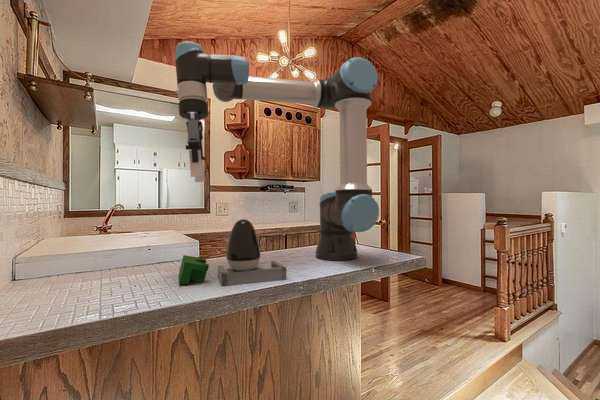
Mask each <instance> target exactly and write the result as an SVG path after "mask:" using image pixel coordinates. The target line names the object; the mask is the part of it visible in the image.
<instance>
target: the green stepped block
mask: <svg viewBox="0 0 600 400" xmlns="http://www.w3.org/2000/svg"><path fill="white" fill-rule="evenodd" d="M209 266H210V264H209V263H207V259H206V258H203V257H198V256H193V255H186V254H183V255H182V261H181V264H180V266H179V271H178V275H177V276H178V284H179V285H185V286H188V285H189V283H190V281H196V282H202V281H203V282H205V279H206V276H207V272H208V270H209Z"/></svg>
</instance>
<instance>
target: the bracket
mask: <svg viewBox="0 0 600 400" xmlns="http://www.w3.org/2000/svg"><path fill="white" fill-rule="evenodd" d="M270 263H271V265H270V266H271V267H270V268H269V267H268V268H257V269H252V270H245V271H236V270H233V271H226V269H225V268H224V266H223V265H221V264H220V265H217V277H218V280H219V282H220V284H221V286H222V287H225V286H226V287H227V286H236V285H245V284H254V283H256V284H257V283H262V282H263V283H264V282H273V281H282V280H283V281H285V280H287V267H286V266H284V265H283V264H281V263H280V262H278V261H277V260H271V261H270Z"/></svg>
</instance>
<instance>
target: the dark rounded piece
mask: <svg viewBox="0 0 600 400" xmlns="http://www.w3.org/2000/svg"><path fill="white" fill-rule="evenodd" d="M230 231H231V232H230V234H229V238H228V241H227V247H226V255H225V259H226V260H227V263H228V266H229V268H230V269H232V270H233V271H245V270H255V268H256V267H257V266H258V265H259V262H260V259H261V257H262V256H261V248H260V242H259V238H258V235H257V232H256V229H255V226H254V225H253V223H252V222H251V221H250V220H248V219H245V218H242V219H239V220H236V222H235V223H234V225H233V226H232V229H231V230H230Z"/></svg>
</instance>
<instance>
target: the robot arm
mask: <svg viewBox="0 0 600 400" xmlns="http://www.w3.org/2000/svg"><path fill="white" fill-rule="evenodd" d="M174 57H175V60H174V61H175V74H176V84H177V89H175V90H174V92H175V93H176V94H177V98H178V113H179V116H180V118H182V119H185V120H187V121H186V123H185V124H186V130H187V144H185V150H188V155H189V170H190V178H192V177H193V178H194V183H205V182H206V178H205V164H204V163H205V162H204V161H206V160H207V159H206V156H204V151H203V142H202V140H203V138H204V137H203V130H204V129H203V128H204V127H203V121H200V120H205V119H206V118H208V116H209V105H208V104H209V103H208V91H207V90H208V89H207V83H209V84H212V90H213V94H214V97H215V98H216V99H217V100H218V101H220V102H222V103H229V102H231V101H233V100H246V101H260V102H275V103H286V104H300V105H311V106H312V108H317V109H329V110H331V109H332V110H333V109H335V110H338V111H339V185H338V186H337V187H336V188H335V191H333V192H326V193H324V194H321V196H320V199H319V220H320V221H319V228H320V229H319V230H320V234H319V240H318V243H317V246H316V248H315V258H317V259H320V260H325V261H350V260H349V259H352V260H355V259H354V258H356V259H357V258H359V257H358V255H359V254H358V248H357V245H356V243H355V239H354V237H353V233H364V232H367V231H369V230H371V229H372V228H373V227H374V226H375V225H376V223H377V221H378V219H379V217H380V207H379V203H378V202H377V201H376V199H375V198H374V197H373V188H372V187H370V186H369V185H368V145H367V144H368V137H367V136H368V135H367V133H368V132H367V130H368V127H367V121H368V120H367V119H368V117H367V115H368V114H367V109H368V108H369V107H371V106H372V91H374V90H375V88H376V87H377V85H378V81H379V76H378V71H377V69H376V67H375V65H373V64H372V62H370V61H369V60H368V59H366V58H363V57H359V56H358V57H357V56H355V57H352V58H349V59H348V60H347V61H345V62H344V63H343V64H342V65H341V66H340V67H339V69H337V71H336V72H334V74H332V76H330V77H328V78H325V79H319V78H316V79H315V80H313V81H307V80H297V79H284V78H277V77H276V78H275V77H274V78H272V77H263V76H252V75H249V74H250V68H249V67H250V66H249V61H248V59H247V58H246V57H245V56H241V55H240V56H239V55H235V54H216V53H207V52H205V51H204V48H203V46H202V45H201V44H199V43H198V42H197V43H196V42H195V43H194V41H189V40H186V41H182V42H179V43H177V45H176V46H175V56H174Z"/></svg>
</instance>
